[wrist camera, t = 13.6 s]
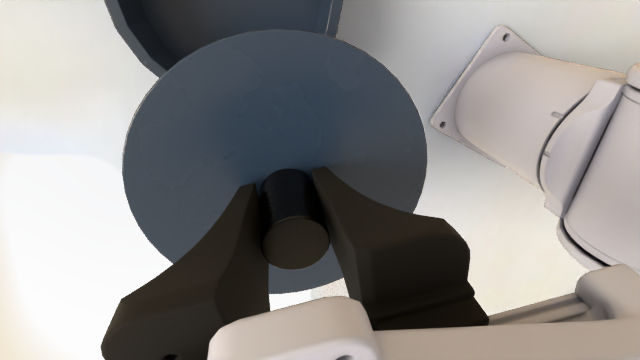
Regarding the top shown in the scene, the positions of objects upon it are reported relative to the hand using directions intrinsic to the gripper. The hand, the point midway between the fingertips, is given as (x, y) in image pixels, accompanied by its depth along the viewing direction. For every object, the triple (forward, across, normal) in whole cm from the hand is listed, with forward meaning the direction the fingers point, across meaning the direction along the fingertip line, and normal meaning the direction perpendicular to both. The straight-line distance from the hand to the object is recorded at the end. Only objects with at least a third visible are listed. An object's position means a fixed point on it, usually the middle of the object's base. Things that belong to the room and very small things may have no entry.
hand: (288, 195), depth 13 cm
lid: (+1, 0, 0) cm, 1 cm away
